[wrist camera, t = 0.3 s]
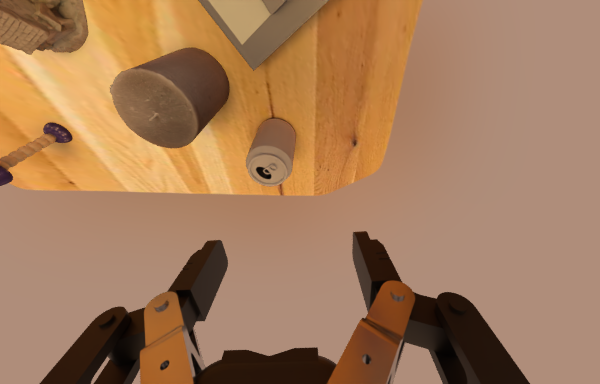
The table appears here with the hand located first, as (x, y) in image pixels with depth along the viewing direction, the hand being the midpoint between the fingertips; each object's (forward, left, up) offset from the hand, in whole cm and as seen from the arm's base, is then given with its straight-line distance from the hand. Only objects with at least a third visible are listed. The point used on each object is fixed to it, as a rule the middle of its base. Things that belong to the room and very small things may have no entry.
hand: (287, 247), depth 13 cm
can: (+4, -9, -31) cm, 32 cm away
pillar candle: (-11, -13, -31) cm, 35 cm away
